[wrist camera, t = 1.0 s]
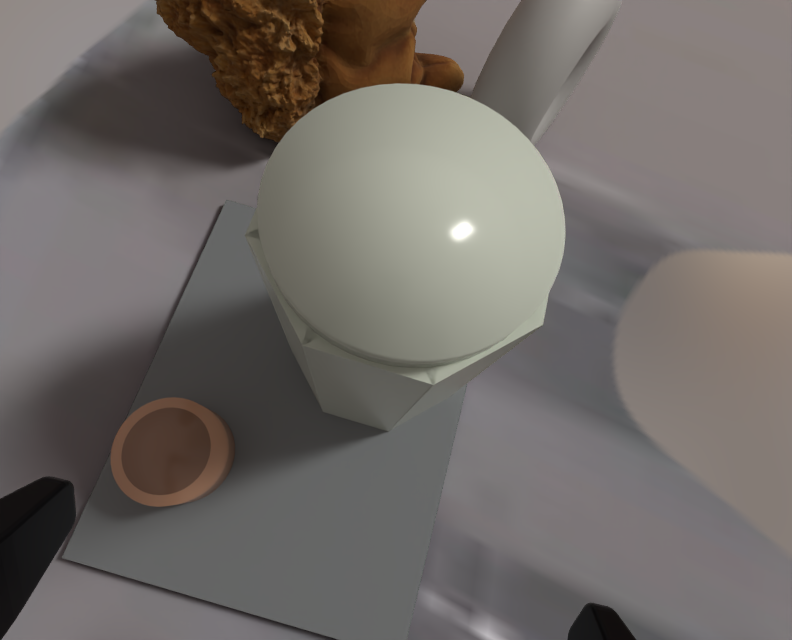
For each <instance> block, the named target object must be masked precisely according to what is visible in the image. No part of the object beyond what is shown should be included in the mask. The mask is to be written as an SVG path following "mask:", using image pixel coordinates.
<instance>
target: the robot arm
mask: <svg viewBox="0 0 792 640" xmlns="http://www.w3.org/2000/svg"><path fill="white" fill-rule="evenodd" d="M75 518H76V508H75V497H74V487H73V484H72V483H71V482H70V481H68V480H64V479H60V478H55V477H43V478H40V479H38V480H36V481H34V482H32V483H30V484H28V485H26V486H24V487H22V488H20V489H18V490H16V491H14V492H13V493H11V494H9V495H7V496H5V497H3V498H1V499H0V640H1V639H2V638H3V636H4V635H5V634H6V632H7V631H8V629H9V628H10V627H11V625H12V624H13V622H14V621H15V620H16V618H17V616H18V615H19V613H20V612H21V610H22V609H23V607H24V606H25V604H26V602H27V601H28V599H29V597H30V596H31V594H32V592H33V591H34V589H35V588H36V586H37V584H38V583H39V581H40V579H41V578H42V576H43V574H44V573H45V571H46V570H47V568H48V566H49V565H50V563H51V561H52V560H53V558H54V556H55V555H56V553H57V551H58V550H59V548H60V547H61V545H62V543H63V542H64V540H65V538H66V537H67V535H68V533H69V532H70V530H71V528H72V526H73V524H74V521H75ZM568 640H636V639H635V637H634V636H633V635H632V633H631V632H630V630H629V629H628V628H627V626H626V625H625V624H624V622H623V621H622V620H621V618H620V617H619V615H618V614H617V613H616V612H615V611H614V610H613V609H612V608H610V607H608V606H604V605H600V604H595V603H588V604H586V605H585V606H584V608H583V609H582V611H581V612H580V614H579V615H578V617H577V618H576V620H575V621H574V623H573V625H572V626H571V628H570V630H569V633H568Z"/></svg>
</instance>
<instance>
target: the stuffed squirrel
mask: <svg viewBox="0 0 792 640" xmlns="http://www.w3.org/2000/svg"><path fill="white" fill-rule="evenodd" d="M156 1H157V2H156V4H157V14H159V15H160V16H161V17H162V18H163V20H164V22H165V23H166V24H167V25H168V28H169V29H170V30H172V31H173V32H174V33H175V35H176V36H178V37H180V38H183V39H184V40H185V41H186V42H187V43H188V44H189V45H191V46H193V47H194V48H195V49H196V50H197V51H199V52H201V53H204V54H205V55H208V56H209V60H210V62H211V63H212V66H213V67H214V69H215V70H216V71H215V72H214V73H212V76H213V77H215V80H216V83H217V84H216V87H217V88H219V90H220V93H221V95H222V96H224V97H225V98H227V99H229V101H230V102H231V103H232V105H233V106H234V107H235V108H237V109H239V112H240V113H242V124H243V123H245V124H246V126H247V127H249V128H251V129H252V130H253V132H254V133H257V134H259V135H260V137H261V138H263V137H264V138H266V139H271V140H274V141H275V142H280V141H281V139H282V138H283V137H284V135H285V134H286V133H287V132H288V131H289V130H290V129H291V128H292V127H293V126H294V125H295V124H296V122H297V121H298V120H300V119H301V118H302V117H304V116H305V115H306V114H307V113H309V112H310V111H311V110H313V109H314V108H316V107H318V106H319V105H321V104H323V103H324V102H326V101H328V100H330V99H332V98H335V97H337V96H339V95H341V94H344V93H347V92H350V91H353V90H357V89H360V88H364V87H370V86H375V85H383V84H397V83H400V84H419V85H426V86H433V87H437V88H441V89H445V90H449V91H453V92H457V91H458V90H459V89H460V88H461V86H462V84H463V81H464V74H463V72H462V70H461V69H460V67H459V65H458V64H457V63H456V62H455V61H454V60H452V59H450V58H447V57H444V56H439V55H434V54H425V53H415V44H416V40H415V36H416V33H417V27H416V25H415V17H416V15H417V14H418V12H419V10H420V8H421V6H422V5H423V4H424V3H425V2H426V1H427V0H156Z"/></svg>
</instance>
